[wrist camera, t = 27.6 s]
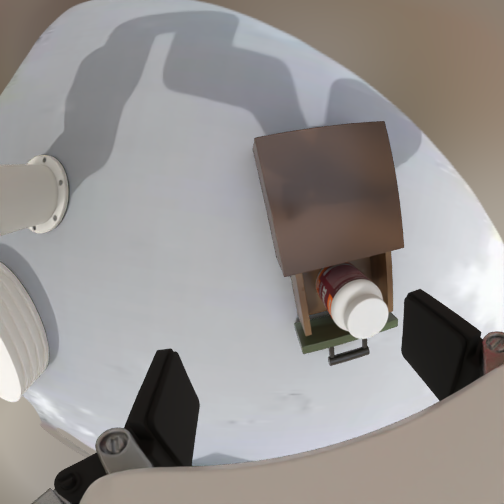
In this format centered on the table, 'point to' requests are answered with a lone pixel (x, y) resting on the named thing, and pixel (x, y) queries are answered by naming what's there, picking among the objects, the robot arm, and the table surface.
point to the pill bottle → (352, 300)
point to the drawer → (324, 328)
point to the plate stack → (19, 339)
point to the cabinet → (329, 194)
